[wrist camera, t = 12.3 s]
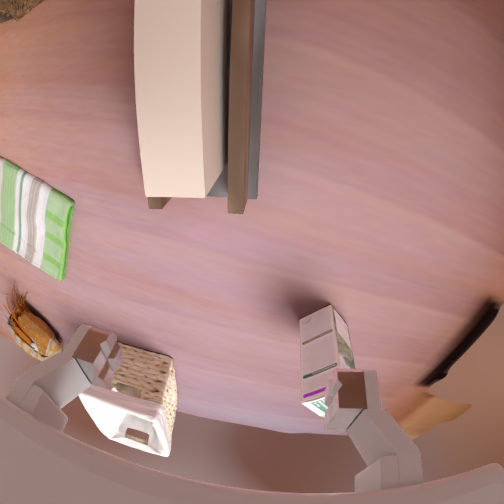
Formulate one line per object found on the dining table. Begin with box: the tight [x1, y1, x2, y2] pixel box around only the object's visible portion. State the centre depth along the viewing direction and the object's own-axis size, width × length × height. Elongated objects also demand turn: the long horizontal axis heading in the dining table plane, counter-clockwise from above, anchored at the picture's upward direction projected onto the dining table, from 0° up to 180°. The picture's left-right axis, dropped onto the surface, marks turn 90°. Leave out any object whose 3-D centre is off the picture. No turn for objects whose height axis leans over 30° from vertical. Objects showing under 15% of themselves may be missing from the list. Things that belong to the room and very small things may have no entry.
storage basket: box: [79, 342, 177, 457], centre depth 52 cm, size 24×16×15 cm
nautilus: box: [4, 287, 63, 361], centre depth 50 cm, size 8×22×15 cm
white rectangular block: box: [134, 0, 228, 198], centre depth 22 cm, size 5×18×10 cm, turn 0°
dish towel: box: [0, 157, 75, 281], centre depth 37 cm, size 17×23×4 cm
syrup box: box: [299, 305, 355, 418], centre depth 37 cm, size 6×6×14 cm
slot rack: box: [148, 0, 266, 214], centre depth 25 cm, size 12×26×5 cm, turn 178°
